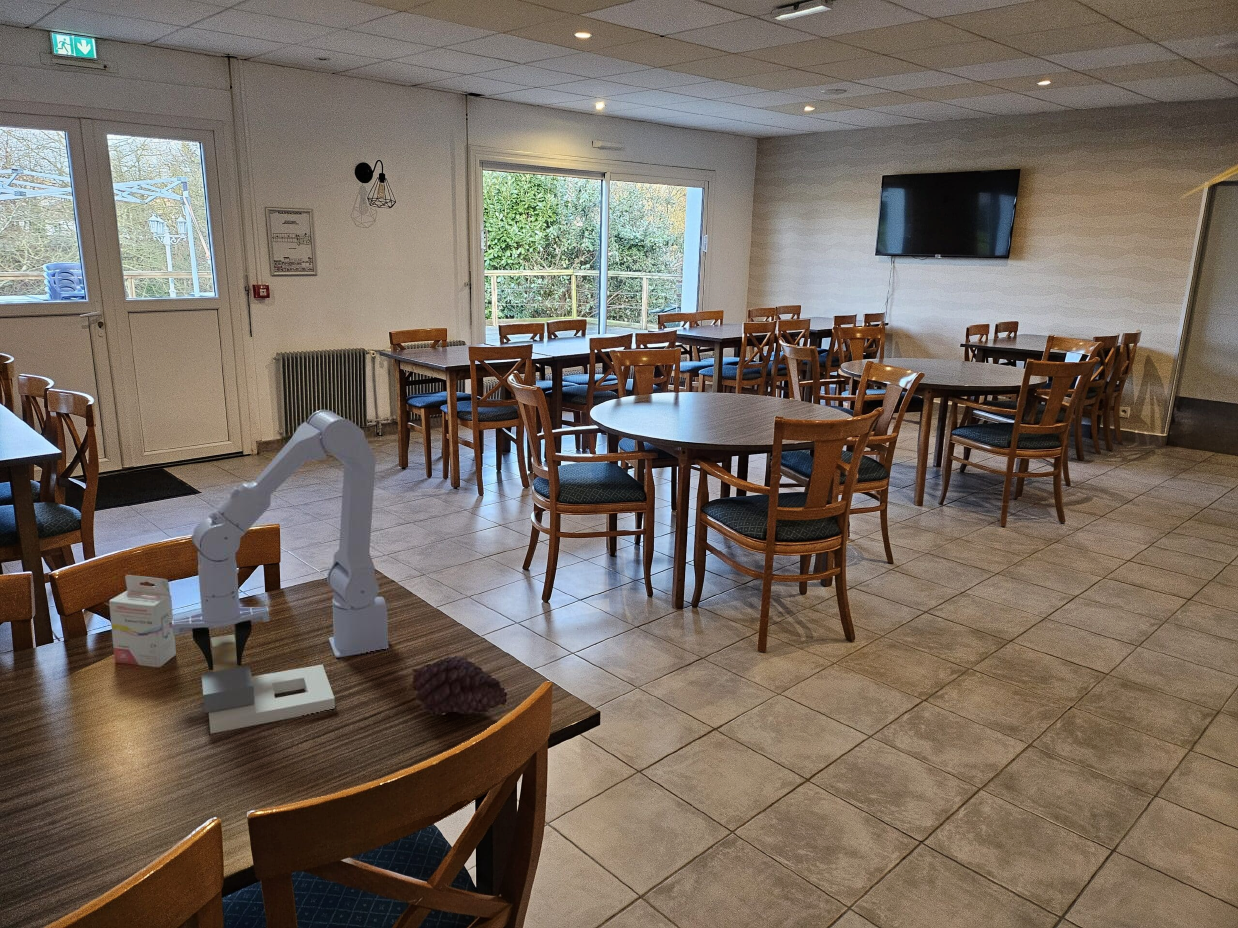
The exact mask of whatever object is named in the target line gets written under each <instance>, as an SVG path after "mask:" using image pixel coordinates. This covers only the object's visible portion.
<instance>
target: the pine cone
mask: <svg viewBox="0 0 1238 928" xmlns="http://www.w3.org/2000/svg"><path fill="white" fill-rule="evenodd" d="M412 672H413V677H412V682H410V683H409V684H408V685H407V687H406V690H407V691H415V692H417V693H416V694H415V699H416V700H417V701H418V702H421V709H422V710H423V711H429V713H430V714H431V715H432V716H433V717H435V716H438V715H440V714H443V713H447V712H448V713H454V712H455V713H459V714H461V715H466V714H467V715H472V714H475V715H476V714H477V715H478V714H480V713H487V712H488V711H490V710H491V709H495V708H498V707H499V706H501V705H502V706H505V705H506V703H507V702H508V700H507V697H508V692H505V691H506V689H505V687H501V682H500V681H499V680H498V679H496V678H495V677H492V675H491V674H490V673H488V672H485V671H484V670H483V669H482V667H481V666H479V665H476V663H474V662H473V661H468V659H467V658H466V657H458V656H457V655H455V656H447V657H445V658H440V659H439V660H436V661H434V662H433V663H432V664H431V663H426V664H424V665H422V666H420V667H419V668H412ZM448 713H447V714H448Z"/></svg>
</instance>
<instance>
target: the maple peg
mask: <svg viewBox="0 0 1238 928" xmlns="http://www.w3.org/2000/svg"><path fill="white" fill-rule="evenodd" d="M210 646H211V653H212V659H213V670H212V672H215V671H221V670H227V669H233V668H238V666H237V656H236V638H235V633H233V634H228V635H221V636H214V637H210Z"/></svg>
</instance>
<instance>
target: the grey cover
mask: <svg viewBox="0 0 1238 928" xmlns="http://www.w3.org/2000/svg"><path fill="white" fill-rule="evenodd" d="M252 677H253V676H252V671H251V667H250V665H246V666H239V667H237V668H233V669H227V670H221V671H215V672H213V671H211V672H210V671H209V672H205V673H204V672H203V673H201V684H202V694H203V695H202V699H203V708H204V713H209V712H211V711H216V710H222V709H227V708H232V707H238V706H243V705H249V704H254V687H253V681H252Z"/></svg>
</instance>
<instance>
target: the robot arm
mask: <svg viewBox="0 0 1238 928" xmlns="http://www.w3.org/2000/svg"><path fill="white" fill-rule="evenodd" d="M325 452H328V453H329V454H331V455H333V456H334V457H335V458H336V459H337V460H339V462H341V463H342V465H343V480H342V495H341V497H342V498H341V512H340V513H341V514H340V530H339V531H340V532H339V543H338V546H339V547H338V550H337V551H336V552H335V553H334V554H333V561H332V563H331V567H330V568H329V569H328V572H327V576H326V579H327V581H326V582H327V584H328V586H329V587H330V588H331V589H332V590H333V597H332V599H331V600H332V622H333V623H332V628H333V630H332V631H333V636H330V637H328V641H329V645H330V646H331V649H332V651H333V654H334V656H335V658H337V659H338V658H343V657H344V658H345V657H349V656H354V655H355V656H356V655H361V653H362V654H367V653H366V652H368V653H371V652H370V651H374V652H376V651H375V650H380V649H386V650H388V649H390V647H389V635H388V634H389V631H388V630H389V625H388V619H389V618H388V609H387V603H386V600H385V598H384V596H378V595H379V594H378V593H379V590H380V589H379V583H378V581H377V578H376V573H375V572H376V571H375V570H376V568H375V567H376V566H375V564H374V562H373V558H372V556H371V553H370V548H371V545H370V544H371V534H372V519H373V506H374V505H373V504H374V503H373V502H374V492H375V489H374V488H375V475H376V464H377V463H376V462H377V460H376V455H375V452H374V451H373V449H372V447H371V446H370V443H369V442H368V440H367V438H366V437H365V431H364V430H363V429H362V428H360V427H359V426H358V425H357V424H356V423H354V422H353V421H351V420H350V419H346V418H344V417H341V416H340V415H338V414H337V413H335V412H334V411H332V410H328V409H320V410H316V411H315V412H313V413H311V415H310V416H309V417H308V418H307V419H306V422H305V421H304V422H302V424H300V425H299V426H298V427H297V429H296V430H295V432H294V433H293V435H292V437H291V438H290V439H289V441H288V442H287V443H286V444H285V445H284V446H283V447H282V449H280V451H279V452H278V453H277V454H276V456H275V457H274V458H273V459H272V460H271V461H270V463H269V464H268V465H267V466H266V467H265V468H264V470H263V471H262V472H261V473H260V474H259V476H257V478H256V479H255V480H254V481H251V482H244V483H241V484H240V485H239V486H238V487H236V486H234V487H232V488H231V489H230V490H229V492H228V493H229V494H230V496H229V497H228V498H227V499H226V500H225V501H224V502H223V503H222V504H221V505H220V506H219V508H217V510H216V511H215V512H214V511H211V512H210V513H209V514H208V517H207V519H203V520H201V521H200V522H199V523H197V524H196V526H195V528H194V530H193V533H192V535H191V536H190V538H191V541H192V544H193V545H194V546H195V548H197V549H198V550H197V561H198V562H197V563H198V565H197V572H198V583H199V584H198V585H199V594H200V609H201V612H199V613H195V614H191V615H188V616H184V617H181V618H180V617H179V618H175V619H174V618H173V620H172V630H173V635H174V636H177V635H180V634H181V633H185V632H186V633H187V632H192V639H193V641H194V643H195V644H196V645H197V647H198V648H199V650H200V651H201V653H202V654H203V656H204V659H205V661H206V663H207V667H208V670H209V671H213V659H212V648H211V635H210V629H213V628H223V627H228V626H233V627H234V636H235V642H236V656H237V667H238V666H239V667H240V666H242V658H243V655H244V649H245V647H246V644H247V642H248V640H249V637H250V636H251V635H252V634H251V633H252V630H253V626H252V623H255V622H259V621H261V622H263V623H265V622H270V610H269V607H268V606H255V607H254V606H253V607H251V606H250V607H249V606H248V607H247V606H244V607H241V606H240V596H239V595H240V594H239V593H240V592H239V580H238V569H237V568H238V564H237V560H236V553H237V552H238V550H239V549H240V546H241V538H242V537H243V536H244V535H245V534H247V532H248V531H249V530H250V529H251V527H252V526H253V525H254V524H255V523H256V522H257V521H258V520H259V519H260V518H261V516H264V514H265V513H266V512H267V511H268V510H269V508H270V507H271V498H272V494H273V493H274V492H276V491H277V490H278V488H280V487H281V486H282V485H283V483H285V482H287V480H289V478H290V477H291V476H292V475H293V474H294V473H295V472H297V470H298V469H299V468H301V467H302V466H303V465H304V463H306V462H308V461H315V460H325V459H327V458H328V456H327V454H326V453H325ZM387 648H388V649H387ZM380 651H381V650H380Z"/></svg>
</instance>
